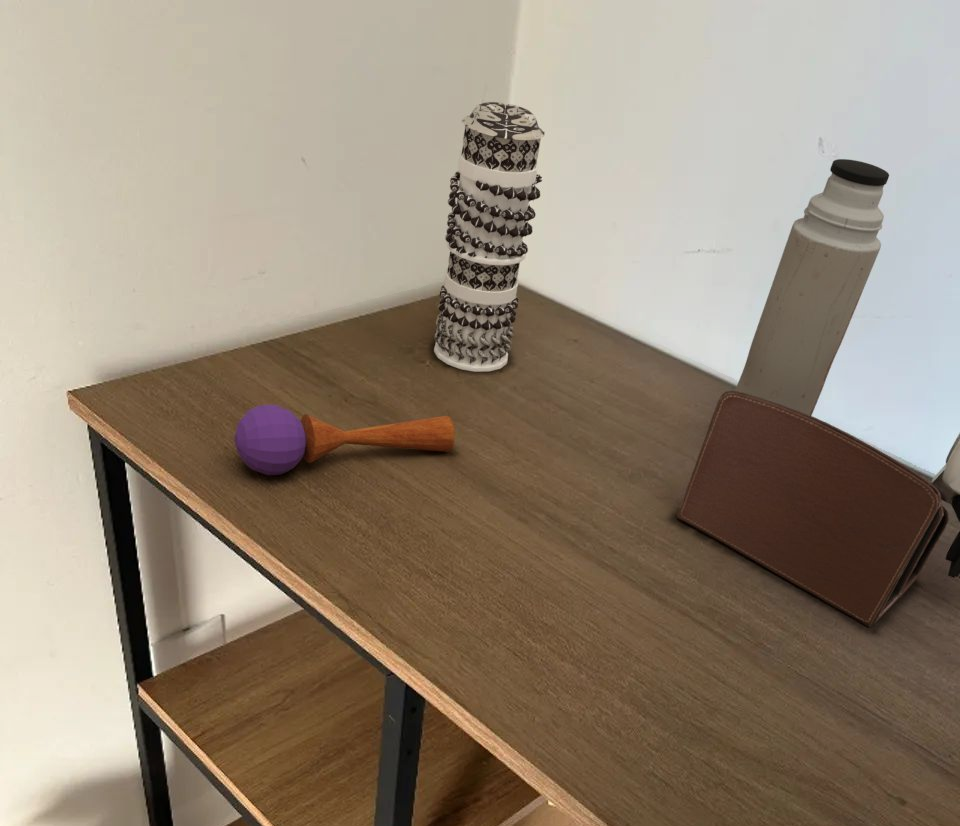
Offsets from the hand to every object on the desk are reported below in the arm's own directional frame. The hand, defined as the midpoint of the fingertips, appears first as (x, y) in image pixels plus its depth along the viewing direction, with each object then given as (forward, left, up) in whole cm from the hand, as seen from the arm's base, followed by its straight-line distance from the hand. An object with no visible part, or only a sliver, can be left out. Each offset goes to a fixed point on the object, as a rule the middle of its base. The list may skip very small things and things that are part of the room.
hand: (959, 571), depth 81 cm
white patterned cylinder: (+54, -14, -4) cm, 56 cm away
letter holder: (+13, 0, -4) cm, 14 cm away
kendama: (+52, +14, -4) cm, 54 cm away
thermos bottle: (+21, -16, -4) cm, 27 cm away
